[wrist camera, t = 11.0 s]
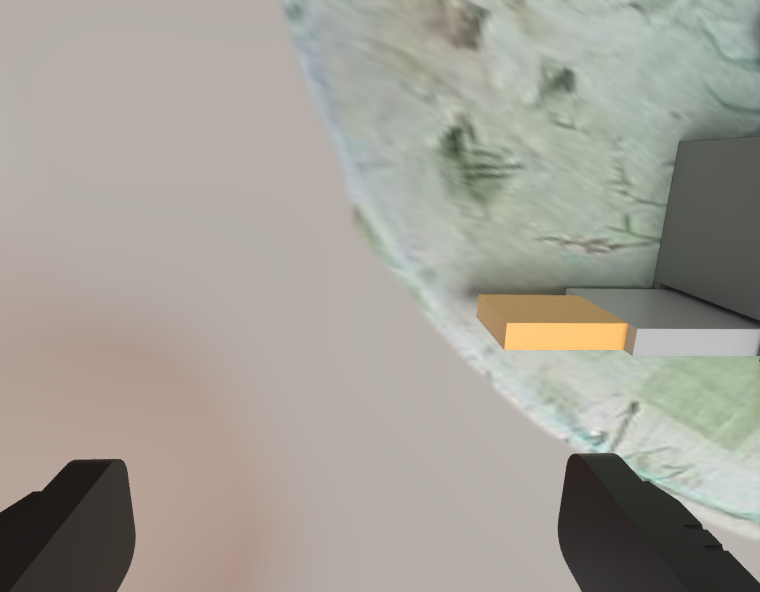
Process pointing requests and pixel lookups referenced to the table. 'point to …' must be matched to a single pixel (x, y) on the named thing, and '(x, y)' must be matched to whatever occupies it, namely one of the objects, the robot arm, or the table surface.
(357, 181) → the table surface
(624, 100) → the table surface
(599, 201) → the table surface
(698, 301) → the door
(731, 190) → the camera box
